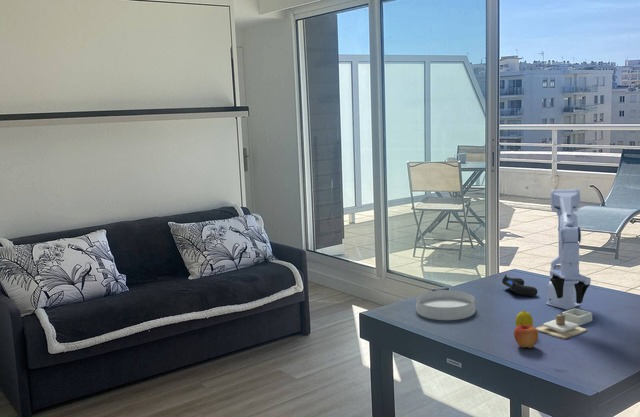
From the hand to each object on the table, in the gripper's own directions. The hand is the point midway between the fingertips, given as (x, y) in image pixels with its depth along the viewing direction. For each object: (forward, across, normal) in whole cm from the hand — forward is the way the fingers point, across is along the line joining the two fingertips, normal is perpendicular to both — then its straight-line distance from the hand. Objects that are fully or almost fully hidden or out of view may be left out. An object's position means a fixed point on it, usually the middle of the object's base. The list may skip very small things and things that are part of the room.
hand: (569, 300), depth 218 cm
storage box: (+9, -2, +6) cm, 11 cm away
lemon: (+9, -5, -17) cm, 20 cm away
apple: (+9, +3, -26) cm, 27 cm away
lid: (+8, 0, -5) cm, 10 cm away
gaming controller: (+10, -37, +19) cm, 43 cm away
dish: (+10, -40, -19) cm, 46 cm away
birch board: (+9, 0, -6) cm, 11 cm away
